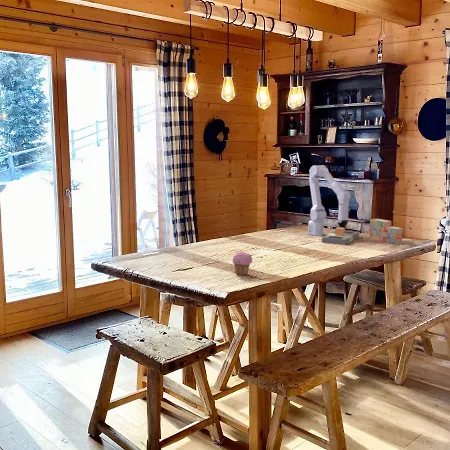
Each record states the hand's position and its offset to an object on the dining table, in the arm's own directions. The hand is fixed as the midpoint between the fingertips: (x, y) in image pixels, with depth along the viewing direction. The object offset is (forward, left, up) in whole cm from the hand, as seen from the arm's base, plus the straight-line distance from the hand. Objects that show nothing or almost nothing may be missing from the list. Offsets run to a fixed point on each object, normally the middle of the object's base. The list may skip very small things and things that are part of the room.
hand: (342, 232), depth 330 cm
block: (0, -5, -1) cm, 5 cm away
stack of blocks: (+24, +9, -4) cm, 26 cm away
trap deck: (0, -2, -4) cm, 4 cm away
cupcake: (-13, -111, -4) cm, 112 cm away
